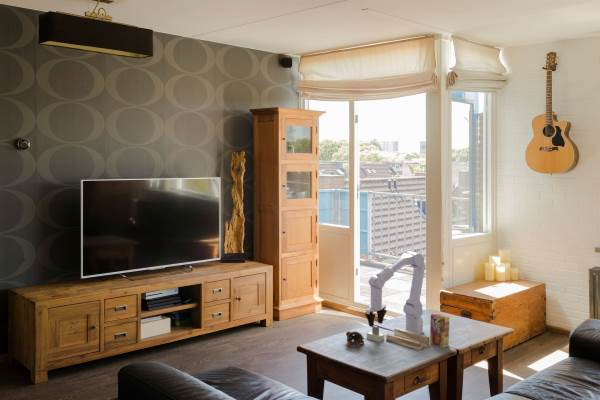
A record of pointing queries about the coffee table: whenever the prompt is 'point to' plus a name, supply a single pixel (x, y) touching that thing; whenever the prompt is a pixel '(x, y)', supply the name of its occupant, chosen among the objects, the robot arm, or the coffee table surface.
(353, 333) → the pottery mug
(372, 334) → the slab with grey handle
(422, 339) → the board
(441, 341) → the candy box
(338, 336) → the coffee table surface
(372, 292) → the robot arm
